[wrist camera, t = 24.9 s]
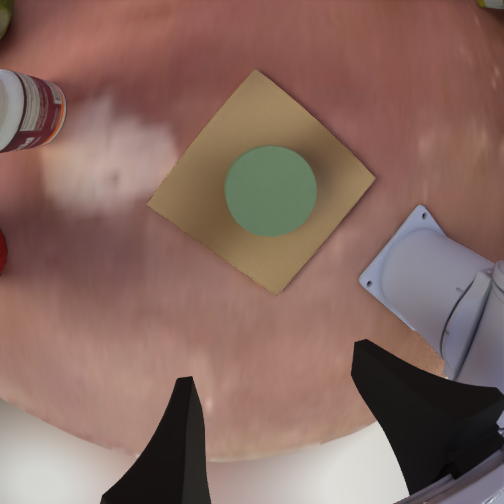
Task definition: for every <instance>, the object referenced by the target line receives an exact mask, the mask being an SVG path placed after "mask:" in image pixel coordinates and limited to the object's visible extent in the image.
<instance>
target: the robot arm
mask: <svg viewBox="0 0 504 504" xmlns="http://www.w3.org/2000/svg"><path fill="white" fill-rule="evenodd" d="M423 214H424V217H423V218H422V215H423ZM369 281H370V283H369V284H368V285H367V283H368V282H369ZM359 283H360V284H361V285H362V286H363V287H364V288H365V289H367V290H368V291H369V292H370V293H371V294H372V295H374V296H375V297H376V298H377V299H378V300H379V301H380V302H382V303H383V304H384V305H385V306H386V307H387V308H388V309H390V310H391V311H392V312H393V313H394V314H395V315H396V316H397V317H399V318H400V319H401V320H402V321H403V322H404V323H405V324H406V325H407V326H409V327H410V328H411V329H412V330H413V331H417V332H418V333H419V334H420V335H421V336H422V337H423V338H424V339H425V340H426V342H427V343H428V344H429V345H430V346H431V347H432V348H433V349H434V350H435V351H436V352H437V353H438V354H439V356H440V357H441V358H442V359H443V360H444V361H445V367H444V370H443V373H444V374H445V375H446V376H447V377H448V378H449V380H448V379H445V378H442V377H439V376H436V375H434V374H431V373H428V372H426V371H424V370H421V369H419V368H417V367H415V366H413V365H411V364H409V363H407V362H405V361H403V360H402V359H400V358H398V357H396V356H394V355H393V354H391V353H389V352H388V351H386V350H384V349H383V348H381V347H379V346H378V345H376V344H374V343H373V342H371V341H369V340H368V339H364V340H361V341H357V342H355V344H354V353H353V362H352V370H351V376H352V378H353V381H354V383H355V385H356V387H357V389H358V391H359V393H360V395H361V396H362V398H363V399H364V401H365V402H366V404H367V406H368V407H369V409H370V410H371V412H372V413H373V415H374V416H375V418H376V419H377V421H378V422H379V424H380V425H381V427H382V428H383V431H384V432H385V434H386V436H387V438H388V440H389V443H390V445H391V447H392V449H393V451H394V454H395V456H396V458H397V461H398V463H399V465H400V468H401V471H402V473H403V476H404V479H405V482H406V485H407V488H408V491H409V495H410V496H409V497H407V498H405V499H402V500H401V501H398V502H396V503H394V504H490V503H491V502H492V501H494V500H495V499H496V498H497V497H499V496H500V495H501V494H502V493H503V492H504V259H502V260H499V261H498V262H496V264H495V263H493V262H491V261H489V260H488V259H486V258H484V257H482V256H481V255H479V254H477V253H475V252H473V251H472V250H470V249H468V248H466V247H464V246H462V245H461V244H459V243H457V242H455V241H453V240H451V239H449V238H447V237H446V235H445V234H444V232H443V231H442V230H441V228H440V227H439V225H438V224H437V223H436V221H435V220H434V219H433V217H432V216H431V215H430V213H429V212H428V211H427V209H426V208H425V207H424V206H422V205H417V206H416V207H415V209H414V210H413V211H412V213H411V214H410V215H409V217H408V218H407V219H406V220H405V222H404V223H403V224H402V226H401V227H400V228H399V229H398V231H397V232H396V233H395V234H394V236H393V237H392V238H391V239H390V241H389V242H388V243H387V244H386V245H385V247H384V248H383V249H382V250H381V252H380V253H379V254H378V255H377V256H376V258H375V259H374V260H373V261H372V262H371V263H370V265H369V266H368V267H367V268H366V269H365V271H364V272H363V273H362V274H361V275H360V277H359ZM100 504H211V499H210V494H209V488H208V482H207V475H206V453H205V426H204V419H203V412H202V406H201V403H200V400H199V397H198V394H197V390H196V387H195V384H194V381H193V377H192V376H190V377H182V378H178V379H177V380H176V383H175V386H174V389H173V392H172V395H171V398H170V401H169V403H168V406H167V408H166V410H165V413H164V415H163V417H162V419H161V421H160V423H159V425H158V427H157V429H156V431H155V433H154V435H153V437H152V438H151V440H150V442H149V443H148V445H147V446H146V448H145V449H144V451H143V452H142V454H141V455H140V456H139V458H138V459H137V460H136V462H135V463H134V464H133V466H132V467H131V468H130V469H129V470H128V471H127V472H126V473H125V474H124V475H123V477H122V478H121V479H120V480H119V481H118V482H117V483H116V484H115V485H114V486H112V487H111V488H110V489H109V490H108V491H107V492H106V493H104V494H103V495H102V498H101V502H100Z"/></svg>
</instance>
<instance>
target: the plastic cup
mask: <svg viewBox="0 0 504 504" xmlns="http://www.w3.org/2000/svg"><path fill="white" fill-rule="evenodd" d="M6 261H7V247H6V243H5V238H4V235H3V233H2V231H1V229H0V275H1V273H2V271H3V269H4V267H5V265H6Z"/></svg>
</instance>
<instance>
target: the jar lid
mask: <svg viewBox="0 0 504 504" xmlns="http://www.w3.org/2000/svg"><path fill="white" fill-rule="evenodd" d="M224 193H225V198H226V202H227V205H228V209H229V211H230V213H231V215H232V216H233V218H234V219H235V221H236V222H237V223H238V224H239V225H240V226H241V227H243V228H244V229H245V230H247V231H249V232H251V233H253V234H256V235H259V236H265V237H276V236H281V235H284V234H287V233H289V232H292V231H293V230H295V229H297V228H298V227H299V226H300V225H302V224H303V223H304V222H305V220H306V219H307V218H308V217H309V215H310V213H311V212H312V210H313V207H314V204H315V201H316V196H317V185H316V179H315V176H314V173H313V171H312V169H311V167H310V166H309V164H308V163H307V162H306V161H305V160H304V158H302V157H301V156H300V155H299V154H297V153H296V152H294V151H292V150H290V149H287V148H284V147H279V146H271V145H264V146H257V147H254V148H251V149H249V150H247V151H245V152H243V153H242V154H241V155H240V156H238V157H237V158H236V159H235V160H234V162H233V163H232V164H231V166H230V168H229V170H228V172H227V174H226V178H225V184H224Z"/></svg>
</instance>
